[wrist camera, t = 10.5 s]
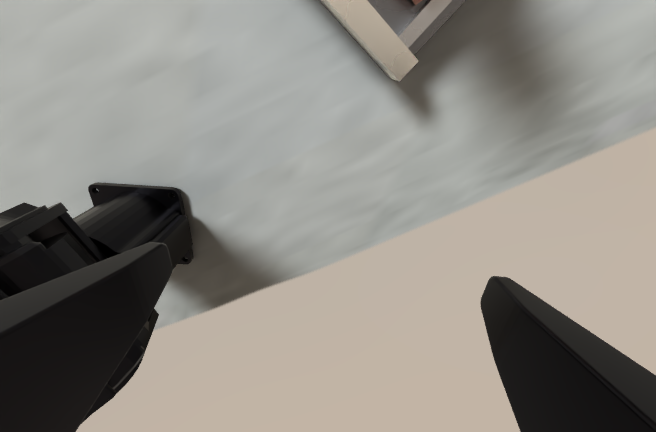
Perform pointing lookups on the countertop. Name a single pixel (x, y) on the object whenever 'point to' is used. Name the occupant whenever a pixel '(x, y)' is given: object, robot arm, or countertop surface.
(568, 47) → the countertop surface
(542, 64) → the countertop surface
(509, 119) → the countertop surface
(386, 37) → the slide base
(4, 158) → the countertop surface
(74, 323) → the robot arm
